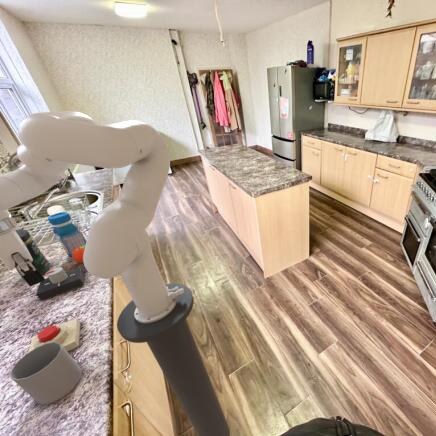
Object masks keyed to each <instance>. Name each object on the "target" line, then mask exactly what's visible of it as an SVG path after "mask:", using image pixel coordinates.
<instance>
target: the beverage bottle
mask: <svg viewBox="0 0 436 436" xmlns="http://www.w3.org/2000/svg"><path fill="white" fill-rule="evenodd" d="M47 220H48V222H49V224H50V225H51V226H52V227H53V228H52V232H53V234H54V235H55V238H56V241H58V242H59V243H60V245H61V247H62V248H63V249H64V251H65V253H66V255H67V257H68V258H69V259H70V260H71V259H73V257H72V254H73V252H74V251H75V250H76V249H77V248H79V247H82V246H85V245H86V242H87V238H85V236H84V234H83V231H82V229H80V227H79V225H78V223H76V222H74V221H73V220H72V217H71V214H70V213H69V212H68V211H60V212H57V213H54V214H51V215H49V216H48V217H47ZM73 260H74V259H73Z"/></svg>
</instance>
